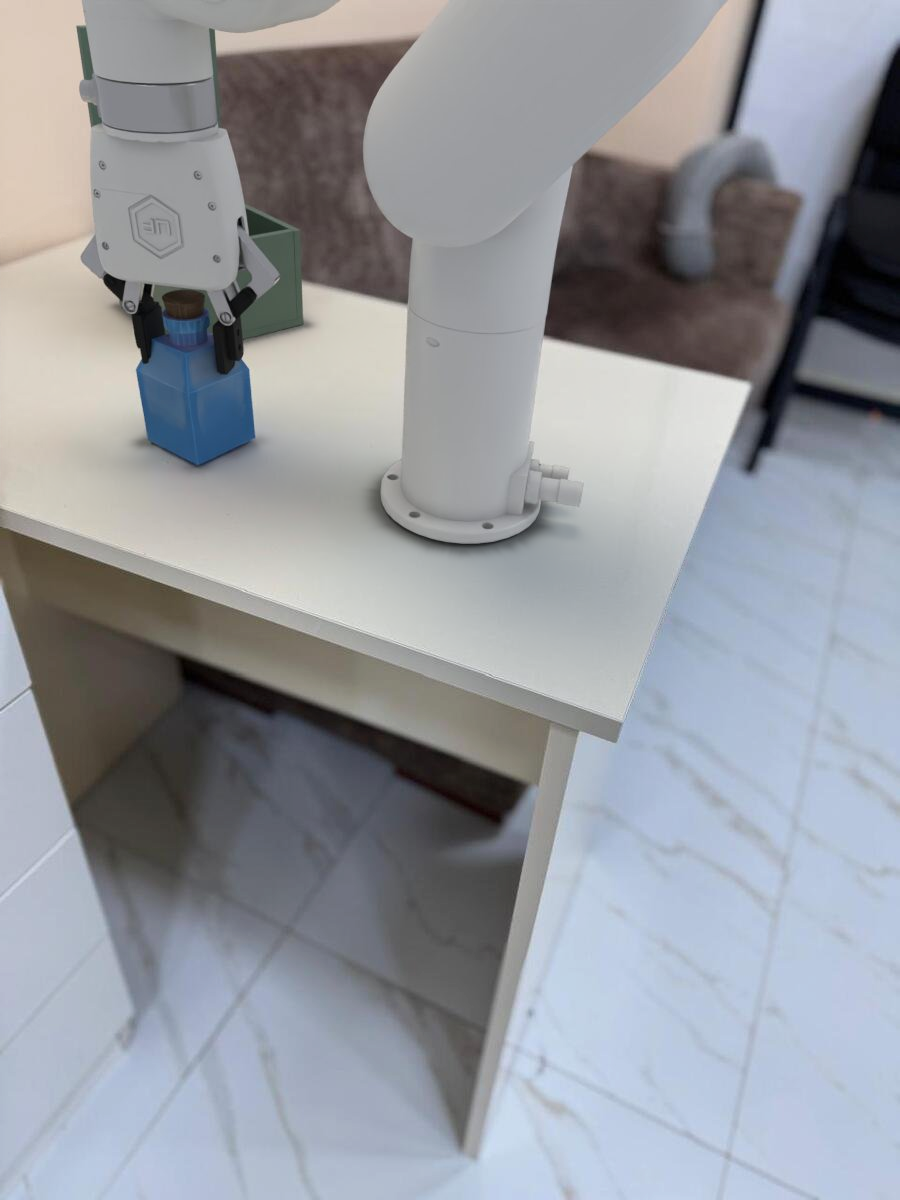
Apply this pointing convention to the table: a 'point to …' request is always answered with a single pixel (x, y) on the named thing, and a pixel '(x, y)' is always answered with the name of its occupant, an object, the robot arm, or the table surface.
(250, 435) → the perfume bottle
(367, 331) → the table surface
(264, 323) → the chest
